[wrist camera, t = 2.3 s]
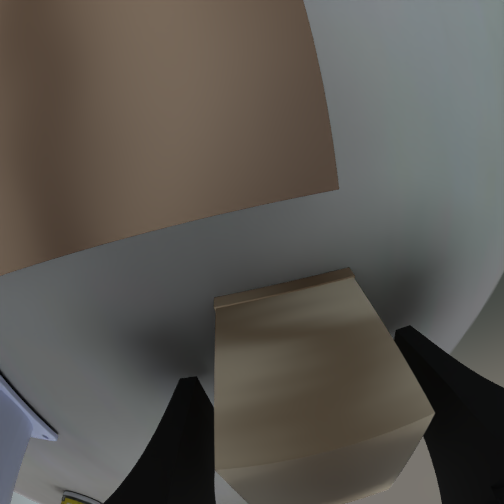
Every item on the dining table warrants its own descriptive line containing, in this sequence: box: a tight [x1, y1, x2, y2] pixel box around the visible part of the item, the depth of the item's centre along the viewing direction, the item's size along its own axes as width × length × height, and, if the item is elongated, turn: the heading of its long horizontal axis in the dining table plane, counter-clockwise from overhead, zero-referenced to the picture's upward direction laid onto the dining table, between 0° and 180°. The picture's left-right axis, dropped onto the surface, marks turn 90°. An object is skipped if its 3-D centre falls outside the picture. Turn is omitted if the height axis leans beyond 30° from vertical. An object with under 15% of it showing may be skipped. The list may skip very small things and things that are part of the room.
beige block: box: [214, 267, 435, 504], centre depth 9 cm, size 5×6×6 cm
